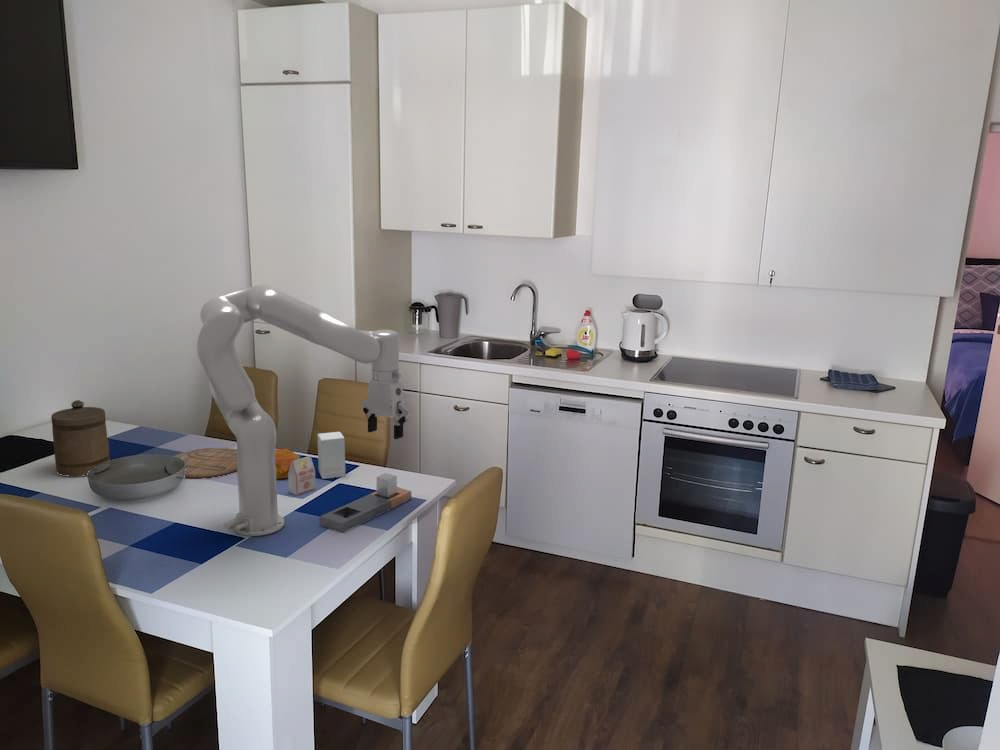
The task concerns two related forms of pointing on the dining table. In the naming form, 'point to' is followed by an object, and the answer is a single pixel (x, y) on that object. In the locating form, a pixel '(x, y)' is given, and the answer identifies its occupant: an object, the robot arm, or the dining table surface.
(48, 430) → the dining table surface
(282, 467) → the croissant
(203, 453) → the trivet
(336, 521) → the rail
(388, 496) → the steel peg
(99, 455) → the wooden container
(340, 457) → the supplement box
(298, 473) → the white printed paper bag
